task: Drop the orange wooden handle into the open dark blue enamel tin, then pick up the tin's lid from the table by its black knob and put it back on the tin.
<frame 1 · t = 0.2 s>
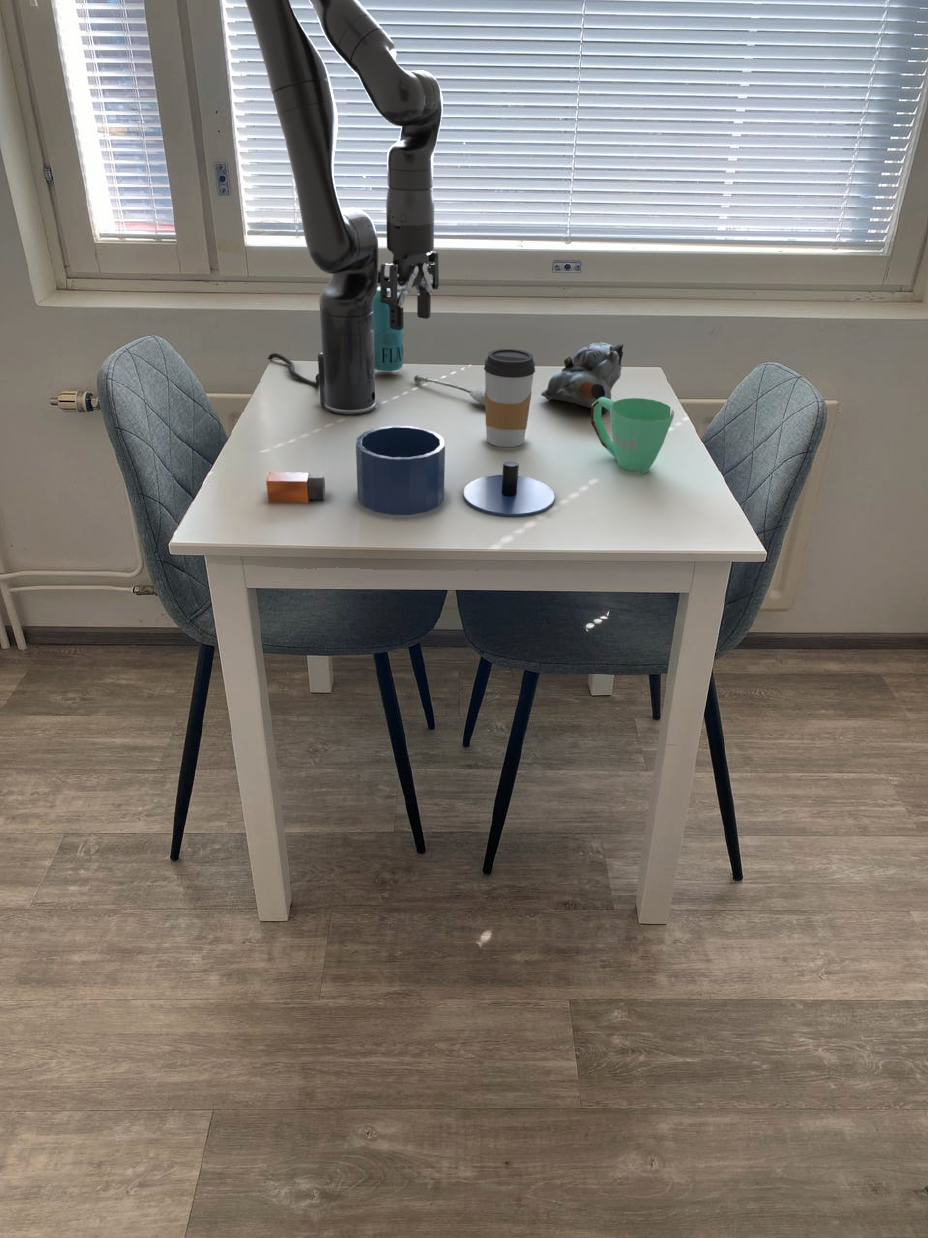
hand: (410, 323, 150), 17 cm above the table, tool pointing down, fingers open, 8 cm apart
handle: (297, 498, 132), on the table
tin: (401, 499, 133), on the table
soupspoon: (459, 396, 172), on the table
mug: (622, 464, 147), on the table
coffee cup: (505, 444, 152), on the table
tin lid: (508, 496, 133), point 1 cm above the table
lucky cat figurine: (579, 405, 170), on the table
beverage bottle: (387, 374, 182), on the table
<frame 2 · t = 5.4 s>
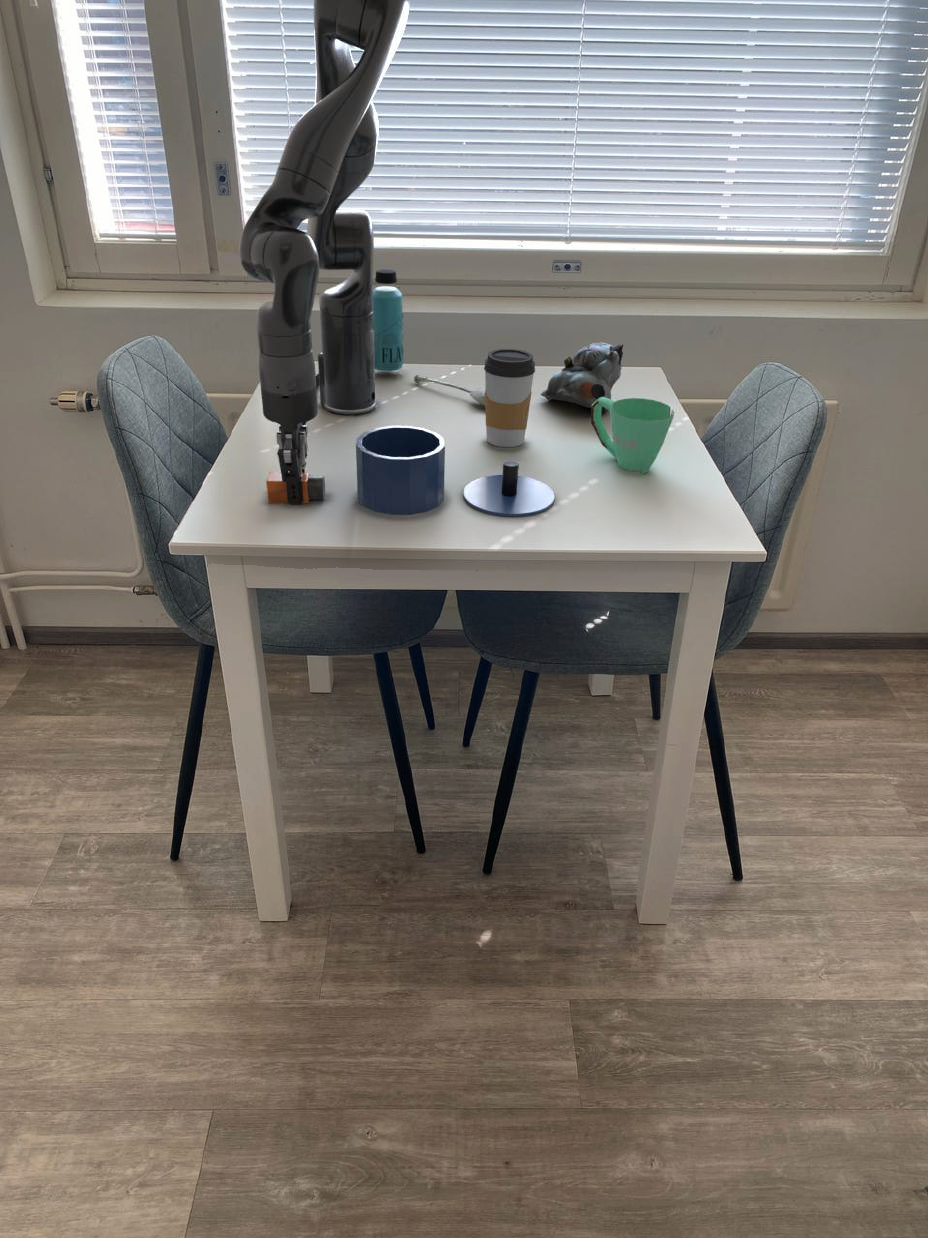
hand: (297, 497, 132), 0 cm above the table, tool pointing down, fingers closed on handle, 3 cm apart
handle: (297, 498, 132), on the table, touching gripper
everything else where it was.
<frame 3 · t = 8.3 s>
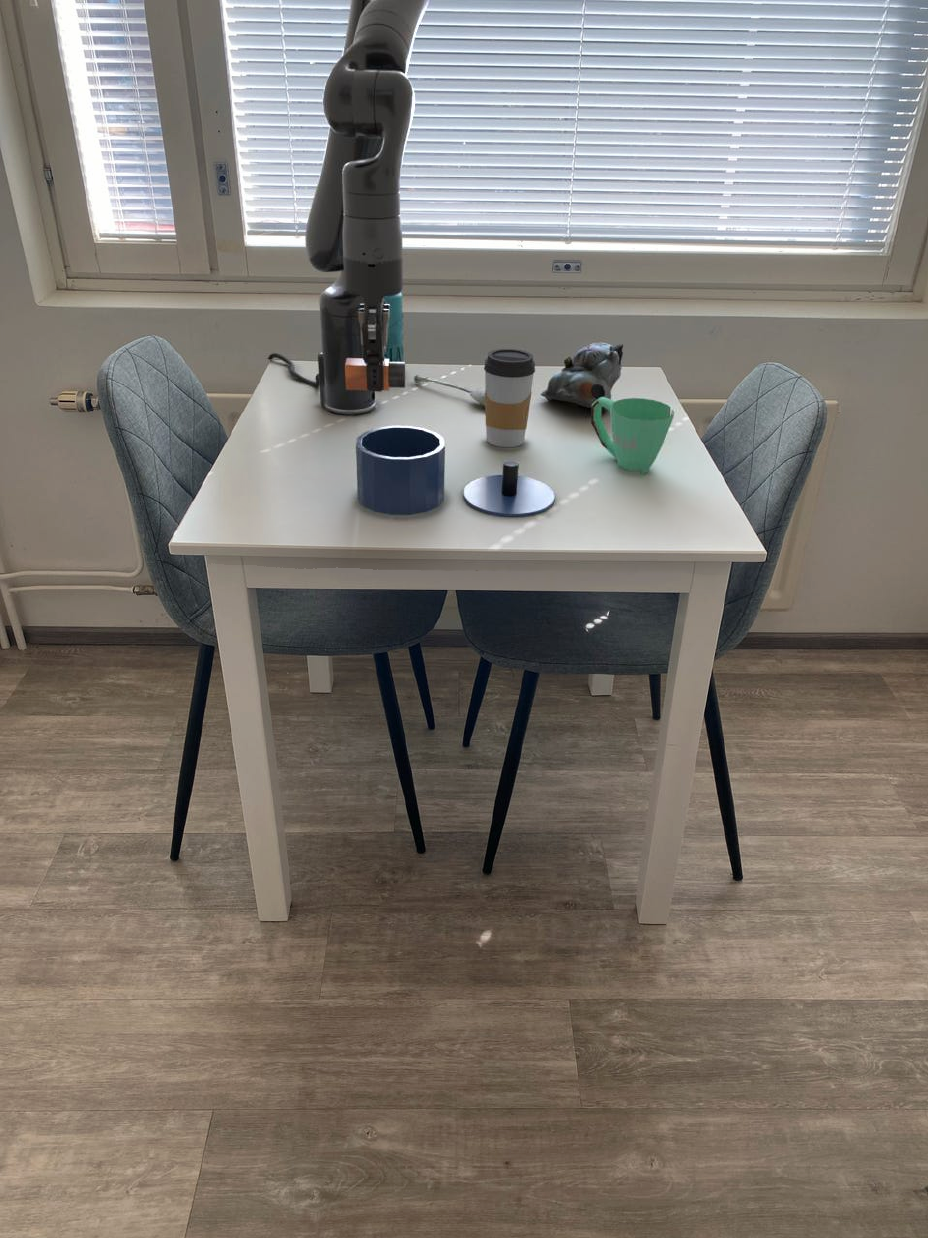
hand: (376, 385, 123), 17 cm above the table, tool pointing down, fingers closed on handle, 3 cm apart
handle: (376, 386, 123), point 17 cm above the table, touching gripper
everything else where it was.
when the fingers open (7 cm above the table, at t = 11.5 s): handle drops 6 cm, resting on tin.
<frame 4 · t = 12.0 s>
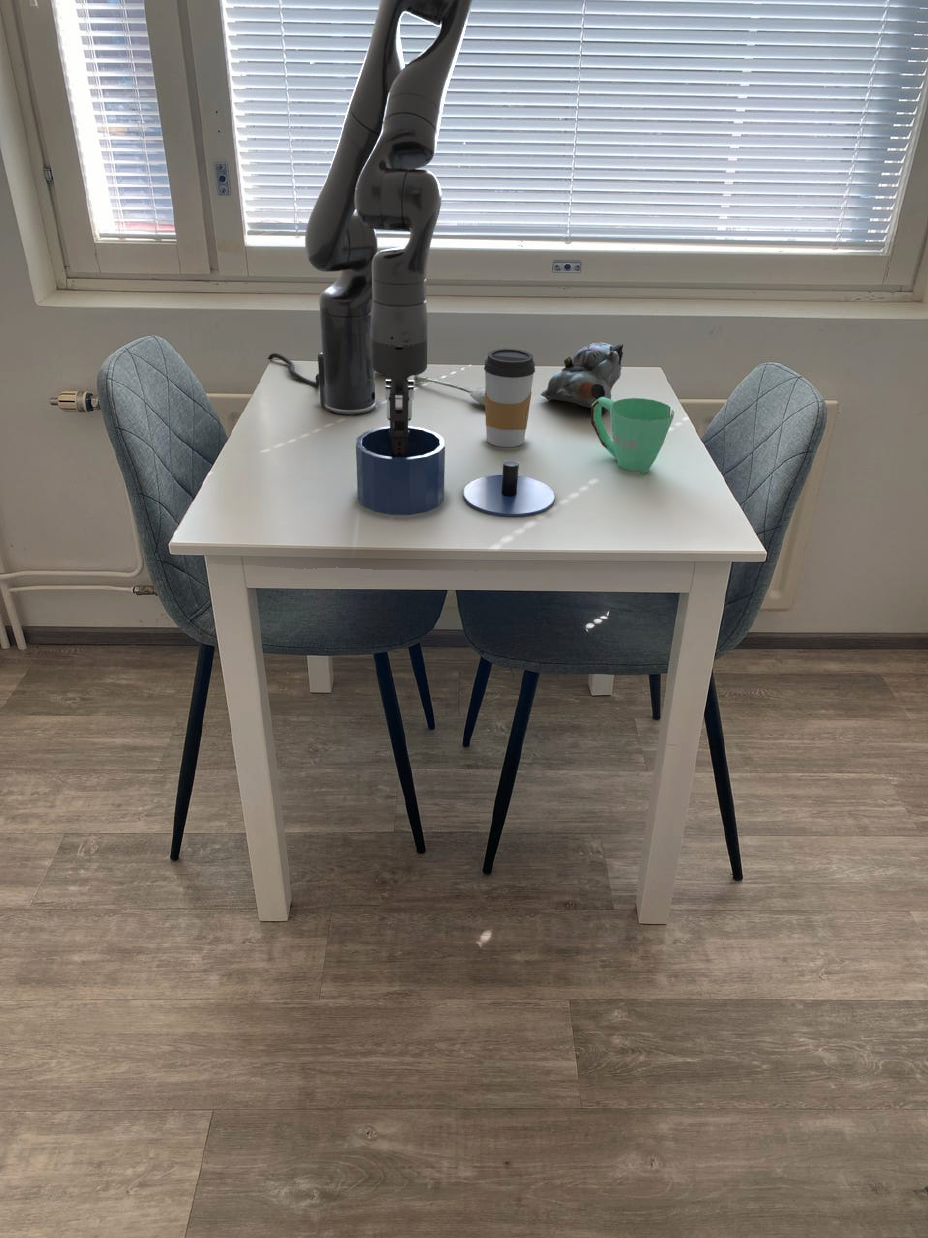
hand: (400, 449, 128), 8 cm above the table, tool pointing down, fingers open, 7 cm apart
handle: (400, 495, 132), point 1 cm above the table, touching tin
everything else where it was.
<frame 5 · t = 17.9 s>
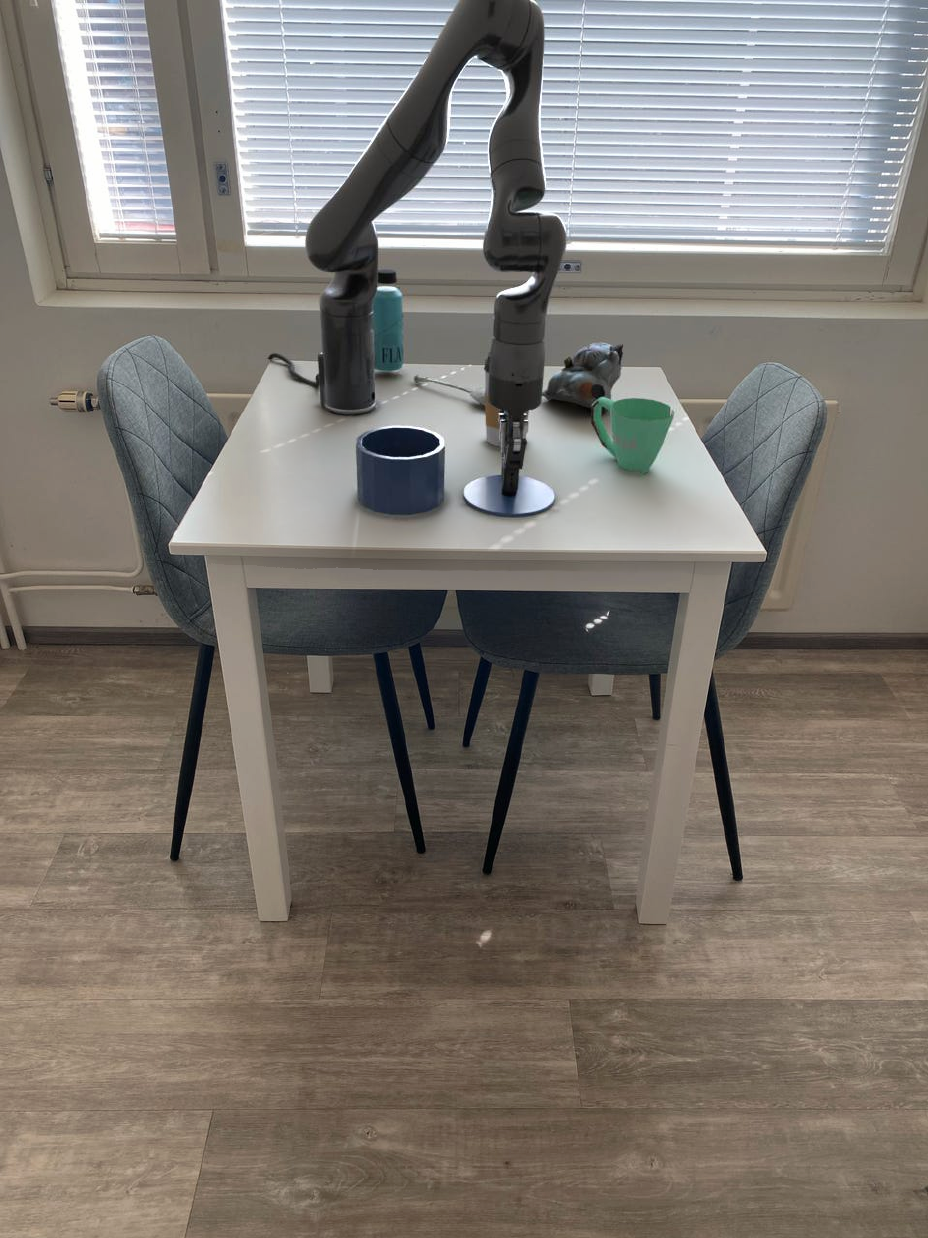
hand: (509, 485, 132), 2 cm above the table, tool pointing down, fingers closed on tin lid, 2 cm apart
tin lid: (508, 496, 133), point 1 cm above the table, touching gripper
everything else where it was.
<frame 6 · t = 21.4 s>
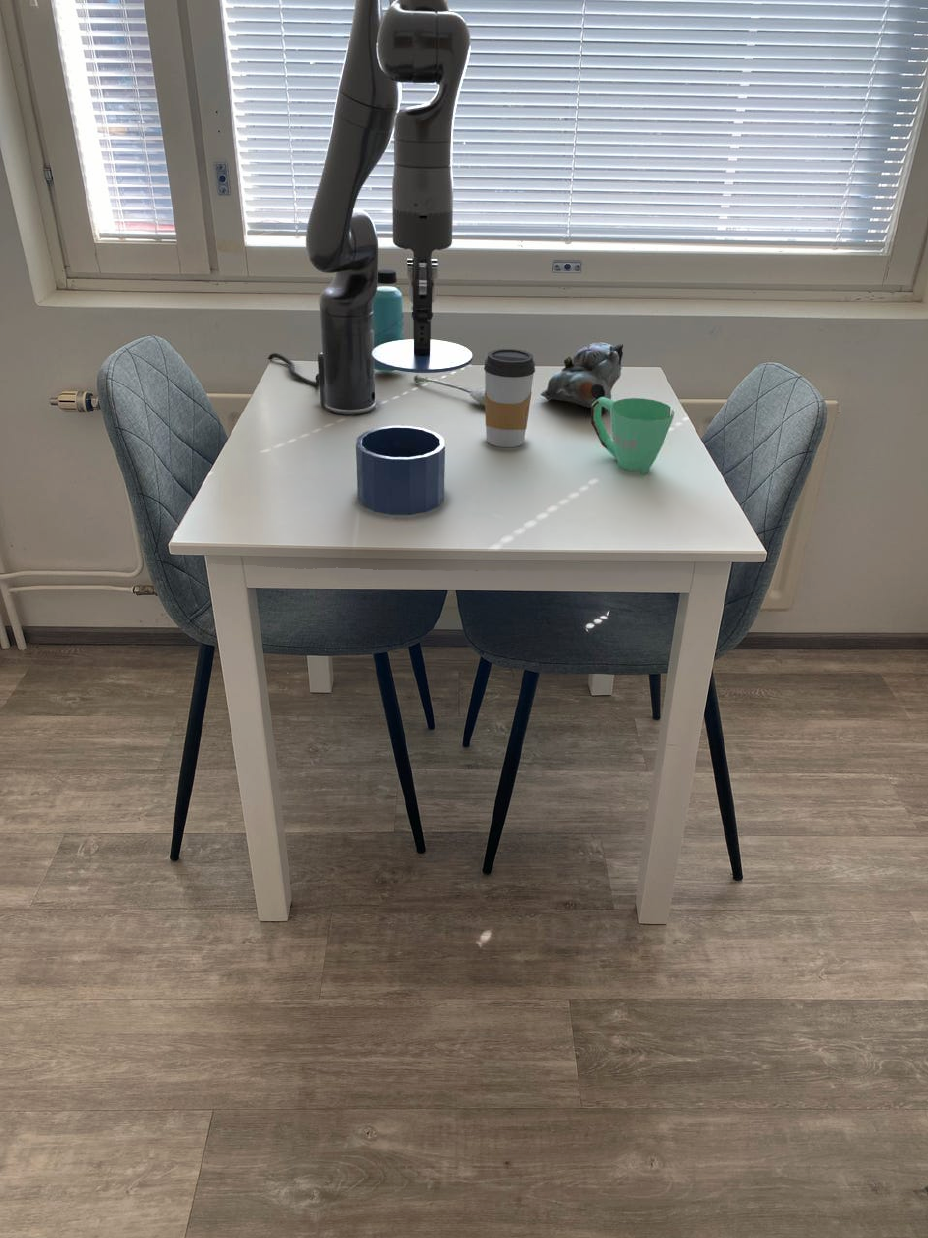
hand: (421, 344, 120), 23 cm above the table, tool pointing down, fingers closed on tin lid, 2 cm apart
tin lid: (422, 357, 121), point 21 cm above the table, touching gripper
everything else where it was.
when the fingers open (11 cm above the table, at t = 25.2 s): tin lid stays where it is, resting on tin.
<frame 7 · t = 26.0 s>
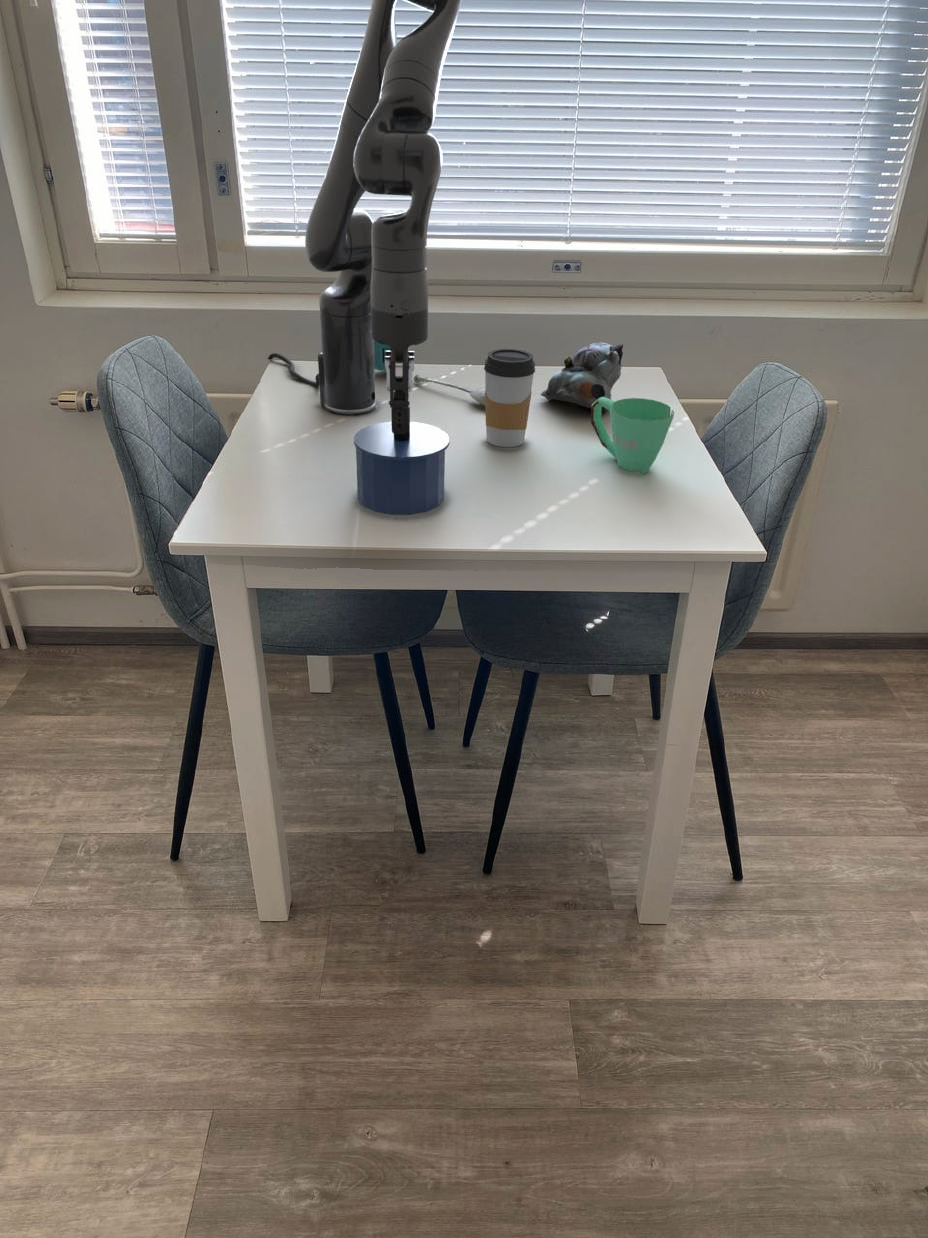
hand: (400, 421, 126), 12 cm above the table, tool pointing down, fingers open, 8 cm apart
tin lid: (401, 441, 128), point 9 cm above the table, touching tin
everything else where it was.
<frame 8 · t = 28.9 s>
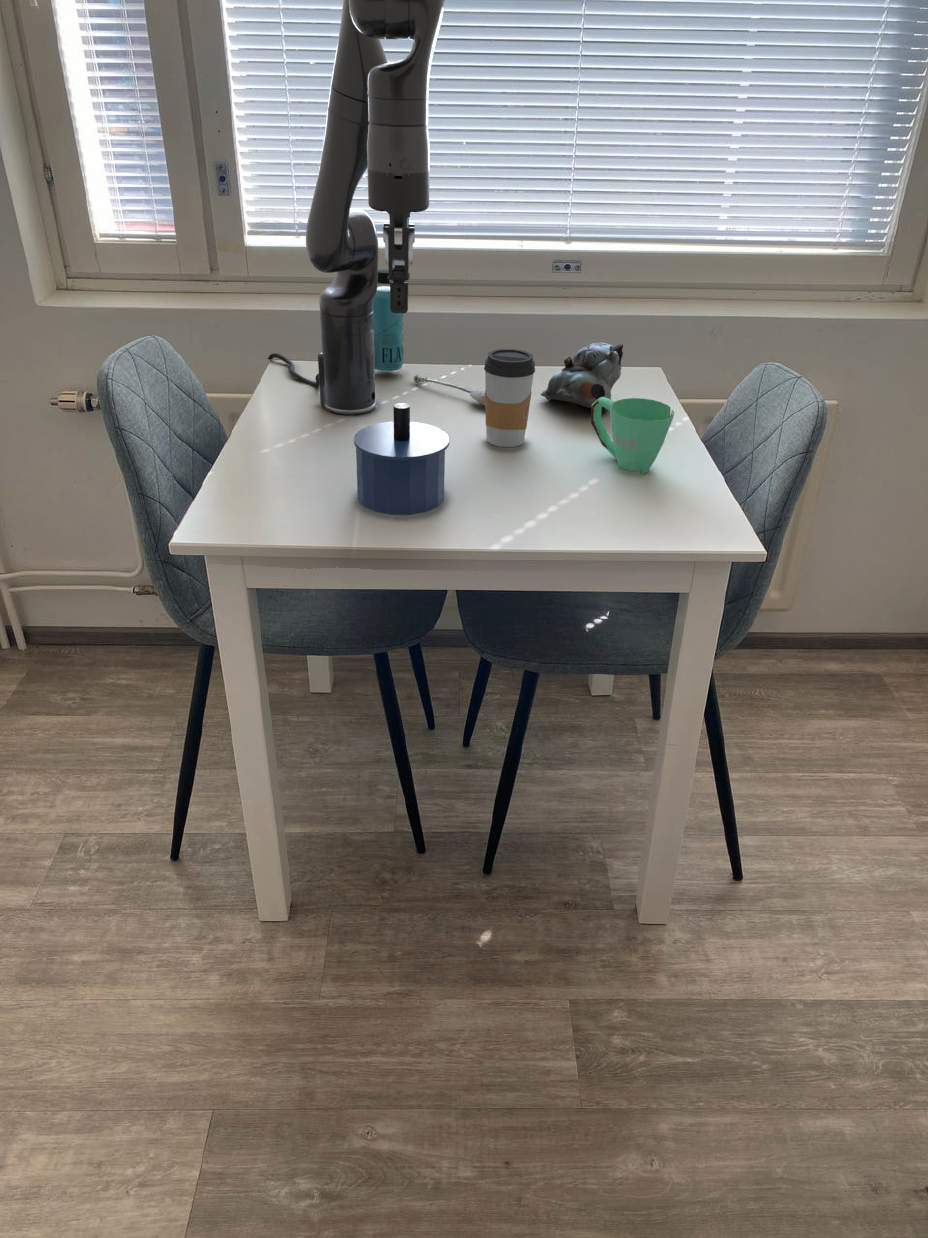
hand: (399, 303, 117), 28 cm above the table, tool pointing down, fingers open, 8 cm apart
nothing on the table moved.
at the end: handle inside the target area in the tin (0.2 cm from its centre), point 0.5 cm above the tin's base; tin lid 0.2 cm off-centre on the tin, point 9.0 cm above the tin's base; tin lid tilted 0° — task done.
